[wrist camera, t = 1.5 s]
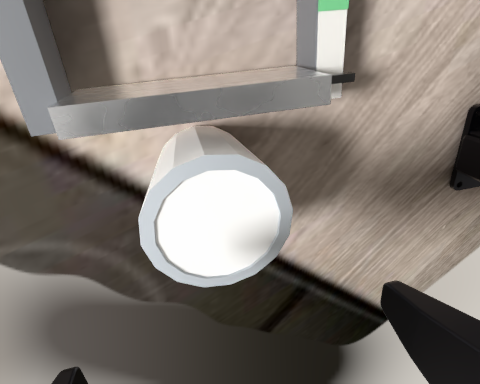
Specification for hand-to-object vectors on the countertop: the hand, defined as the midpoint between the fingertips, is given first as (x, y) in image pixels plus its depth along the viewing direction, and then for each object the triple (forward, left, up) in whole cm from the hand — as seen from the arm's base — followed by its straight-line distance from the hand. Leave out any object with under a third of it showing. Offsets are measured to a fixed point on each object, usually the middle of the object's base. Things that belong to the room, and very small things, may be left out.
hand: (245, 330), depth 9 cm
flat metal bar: (-1, -5, -11) cm, 12 cm away
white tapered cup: (0, 0, -13) cm, 13 cm away
